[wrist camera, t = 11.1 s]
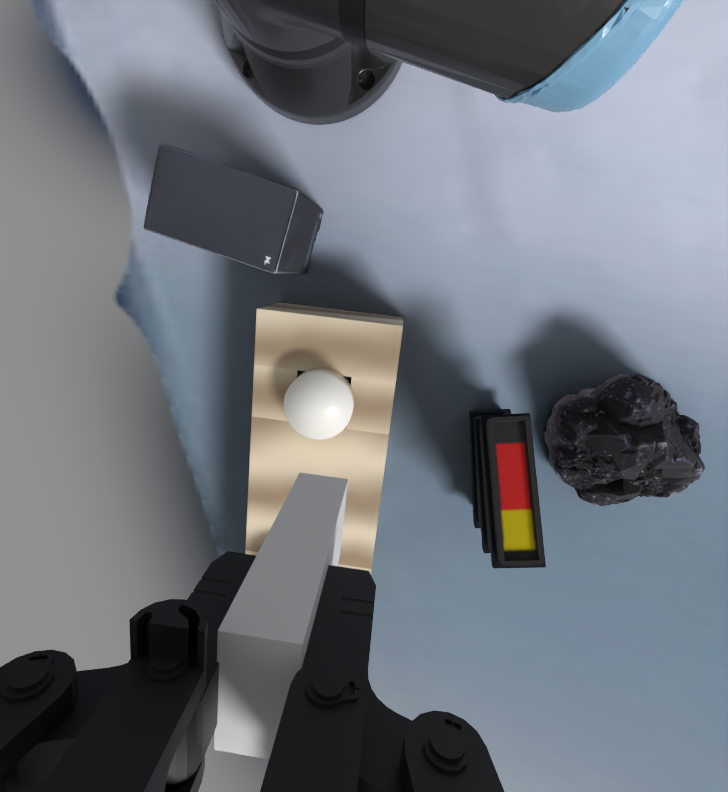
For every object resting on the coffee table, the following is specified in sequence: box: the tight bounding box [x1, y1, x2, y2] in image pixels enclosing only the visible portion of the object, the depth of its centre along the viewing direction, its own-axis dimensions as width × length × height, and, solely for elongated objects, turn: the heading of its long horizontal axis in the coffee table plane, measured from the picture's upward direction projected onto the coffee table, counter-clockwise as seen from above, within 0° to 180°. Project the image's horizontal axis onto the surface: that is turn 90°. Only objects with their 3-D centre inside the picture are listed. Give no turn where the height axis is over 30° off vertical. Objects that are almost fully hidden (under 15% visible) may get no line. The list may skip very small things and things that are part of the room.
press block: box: [245, 302, 404, 574], centre depth 46 cm, size 32×12×7 cm, turn 174°
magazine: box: [469, 409, 546, 568], centre depth 42 cm, size 4×13×15 cm, turn 5°
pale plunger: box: [284, 368, 355, 440], centre depth 42 cm, size 6×6×8 cm
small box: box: [144, 144, 323, 274], centre depth 39 cm, size 11×6×10 cm, turn 72°
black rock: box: [545, 374, 705, 506], centre depth 42 cm, size 13×14×10 cm
